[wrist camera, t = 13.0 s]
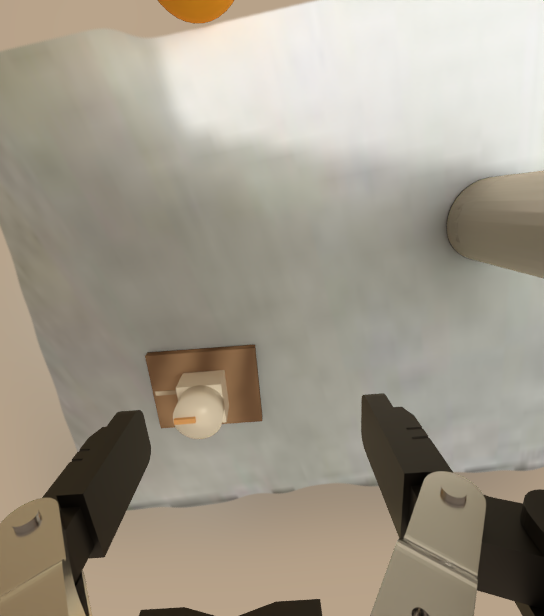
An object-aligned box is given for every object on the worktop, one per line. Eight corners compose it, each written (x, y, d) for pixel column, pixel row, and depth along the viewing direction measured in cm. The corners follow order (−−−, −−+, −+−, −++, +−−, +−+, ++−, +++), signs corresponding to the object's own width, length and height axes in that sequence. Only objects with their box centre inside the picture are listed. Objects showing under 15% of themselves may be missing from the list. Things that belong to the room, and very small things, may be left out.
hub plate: (255, 344, 41) (253, 358, 37) (262, 416, 45) (261, 436, 41) (148, 352, 42) (135, 367, 38) (163, 423, 45) (153, 443, 41)
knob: (224, 369, 41) (218, 397, 35) (230, 406, 43) (224, 439, 37) (181, 372, 41) (167, 401, 35) (188, 409, 43) (176, 443, 37)
